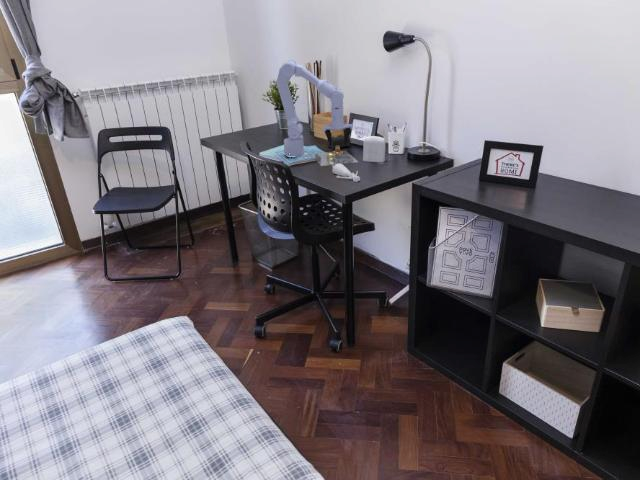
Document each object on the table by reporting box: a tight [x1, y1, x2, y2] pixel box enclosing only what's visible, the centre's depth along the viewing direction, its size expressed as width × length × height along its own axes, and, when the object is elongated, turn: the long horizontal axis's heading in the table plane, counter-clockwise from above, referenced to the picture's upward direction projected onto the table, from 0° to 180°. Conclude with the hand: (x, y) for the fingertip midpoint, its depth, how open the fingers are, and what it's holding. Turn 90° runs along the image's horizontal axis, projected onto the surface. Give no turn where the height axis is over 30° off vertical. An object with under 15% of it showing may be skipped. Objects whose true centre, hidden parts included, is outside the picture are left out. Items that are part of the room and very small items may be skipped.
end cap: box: [327, 134, 351, 151], centre depth 245 cm, size 10×7×7 cm
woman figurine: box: [331, 163, 361, 183], centre depth 208 cm, size 12×4×18 cm
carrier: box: [310, 150, 359, 167], centre depth 229 cm, size 18×20×4 cm
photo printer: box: [362, 135, 386, 165], centre depth 222 cm, size 10×4×12 cm, turn 73°
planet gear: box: [332, 145, 344, 155], centre depth 234 cm, size 5×5×4 cm
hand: (337, 144), depth 233 cm, fingers open, 7 cm apart
